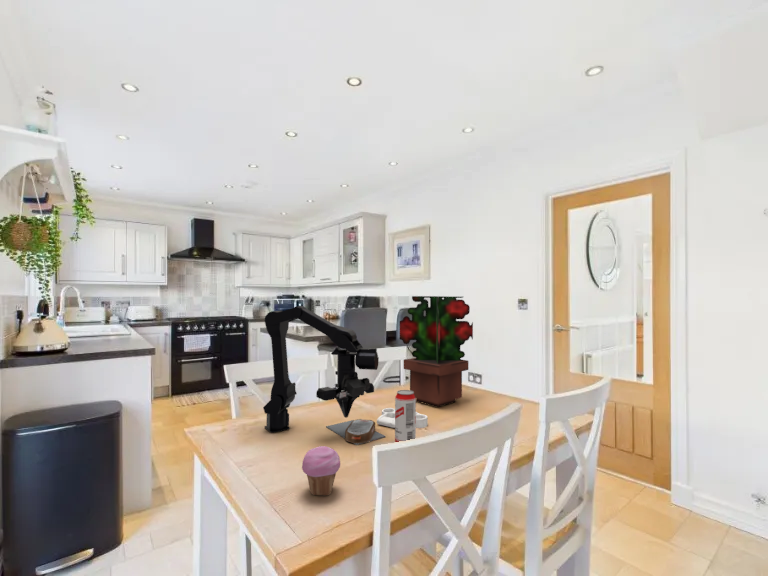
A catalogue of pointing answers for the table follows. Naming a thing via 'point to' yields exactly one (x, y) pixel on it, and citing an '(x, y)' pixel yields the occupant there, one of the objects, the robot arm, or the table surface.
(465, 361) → the potted plant
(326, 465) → the cupcake
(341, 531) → the table surface
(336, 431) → the mat
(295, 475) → the table surface
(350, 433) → the tin
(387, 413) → the white fidget spinner
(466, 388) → the table surface
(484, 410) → the table surface
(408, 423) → the beer can
